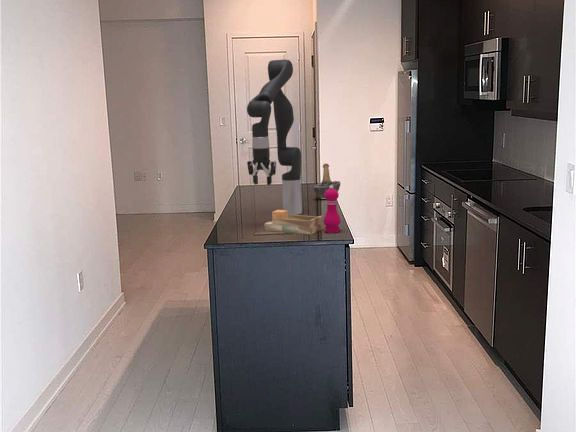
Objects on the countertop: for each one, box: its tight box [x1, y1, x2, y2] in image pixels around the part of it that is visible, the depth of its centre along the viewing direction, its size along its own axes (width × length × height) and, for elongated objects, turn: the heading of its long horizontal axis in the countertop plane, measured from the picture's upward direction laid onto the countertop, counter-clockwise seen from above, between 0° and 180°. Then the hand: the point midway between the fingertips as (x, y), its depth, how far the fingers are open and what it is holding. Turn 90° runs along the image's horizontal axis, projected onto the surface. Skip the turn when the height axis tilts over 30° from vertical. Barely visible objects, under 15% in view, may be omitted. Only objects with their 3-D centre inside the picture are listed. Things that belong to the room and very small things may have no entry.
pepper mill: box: [323, 185, 341, 234], centre depth 262 cm, size 7×7×20 cm
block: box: [271, 209, 288, 219], centre depth 272 cm, size 5×5×5 cm
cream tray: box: [263, 214, 324, 235], centre depth 269 cm, size 11×23×6 cm, turn 61°
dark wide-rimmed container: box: [313, 163, 341, 199], centre depth 347 cm, size 15×17×20 cm
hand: (262, 184), depth 274 cm, fingers open, 6 cm apart
